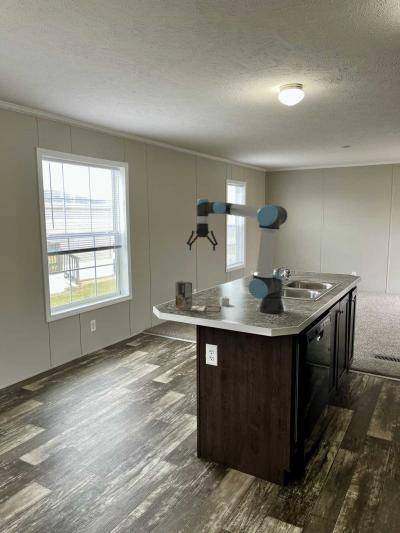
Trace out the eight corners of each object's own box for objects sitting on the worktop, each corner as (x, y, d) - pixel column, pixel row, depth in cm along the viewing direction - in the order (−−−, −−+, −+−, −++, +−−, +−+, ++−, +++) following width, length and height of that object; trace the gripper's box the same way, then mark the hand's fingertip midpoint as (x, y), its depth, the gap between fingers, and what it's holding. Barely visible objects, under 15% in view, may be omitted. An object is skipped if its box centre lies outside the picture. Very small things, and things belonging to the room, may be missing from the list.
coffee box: (192, 307, 244) (192, 282, 242) (185, 309, 239) (185, 283, 238) (182, 305, 250) (182, 280, 248) (174, 306, 246) (175, 281, 244)
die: (226, 304, 259) (226, 296, 258) (229, 305, 254) (229, 297, 253) (219, 304, 258) (219, 296, 257) (221, 306, 253) (222, 298, 252)
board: (220, 307, 249) (220, 306, 249) (219, 312, 235) (219, 311, 235) (177, 305, 252) (177, 304, 252) (173, 310, 239) (173, 309, 238)
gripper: (222, 223, 253) (221, 255, 256) (184, 222, 256) (184, 254, 258) (221, 223, 246) (220, 256, 248) (182, 222, 248) (182, 255, 251)
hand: (202, 255), depth 253 cm, fingers open, 13 cm apart
